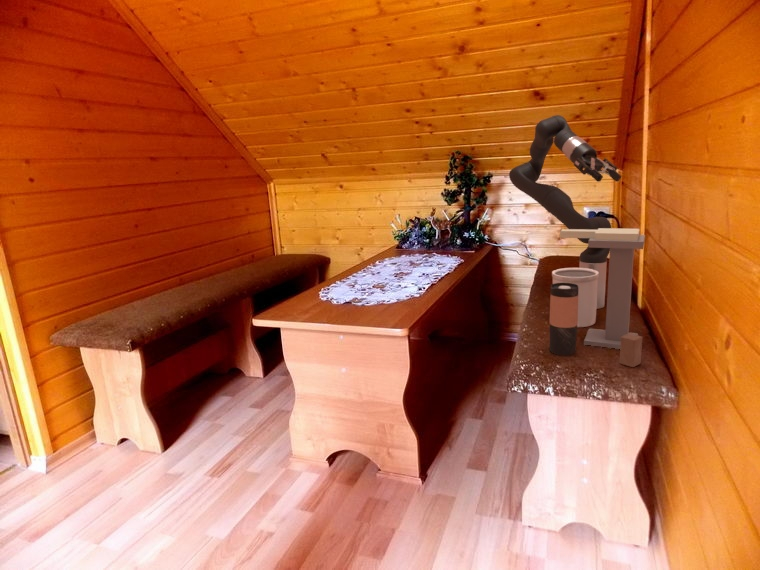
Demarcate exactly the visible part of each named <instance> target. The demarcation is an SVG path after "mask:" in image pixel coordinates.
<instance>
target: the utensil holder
mask: <svg viewBox="0 0 760 570" xmlns="http://www.w3.org/2000/svg"><path fill="white" fill-rule="evenodd" d="M598 277H599V272H598V271H596V270H593V269H588V268H579V267H564V268H558V269H555V270H552V271H551V278H552V284H555V283H572V284H576V285H578V287H579V290H578V324H577V328H584V327H585V328H586V327H590V326H593V325H594V324H596V321H597V287H598Z"/></svg>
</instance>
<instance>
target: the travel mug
mask: <svg viewBox="0 0 760 570" xmlns="http://www.w3.org/2000/svg"><path fill="white" fill-rule="evenodd" d="M578 290H579V287H578V285H576V284H572V283H555V284H553V283H552V284H550V298H549V299H550V300H549V352H550V351H551V352H552V353H551V352H550V353H551V354H553V353H554V354H553V355H556V354H557V355H556V356H560V355H564V356H565V357H567V356H568V355H569V356H573V355H574V353H576V348H577V338H578V337H577V335H578V327H577V324H578ZM572 354H573V355H572Z"/></svg>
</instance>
